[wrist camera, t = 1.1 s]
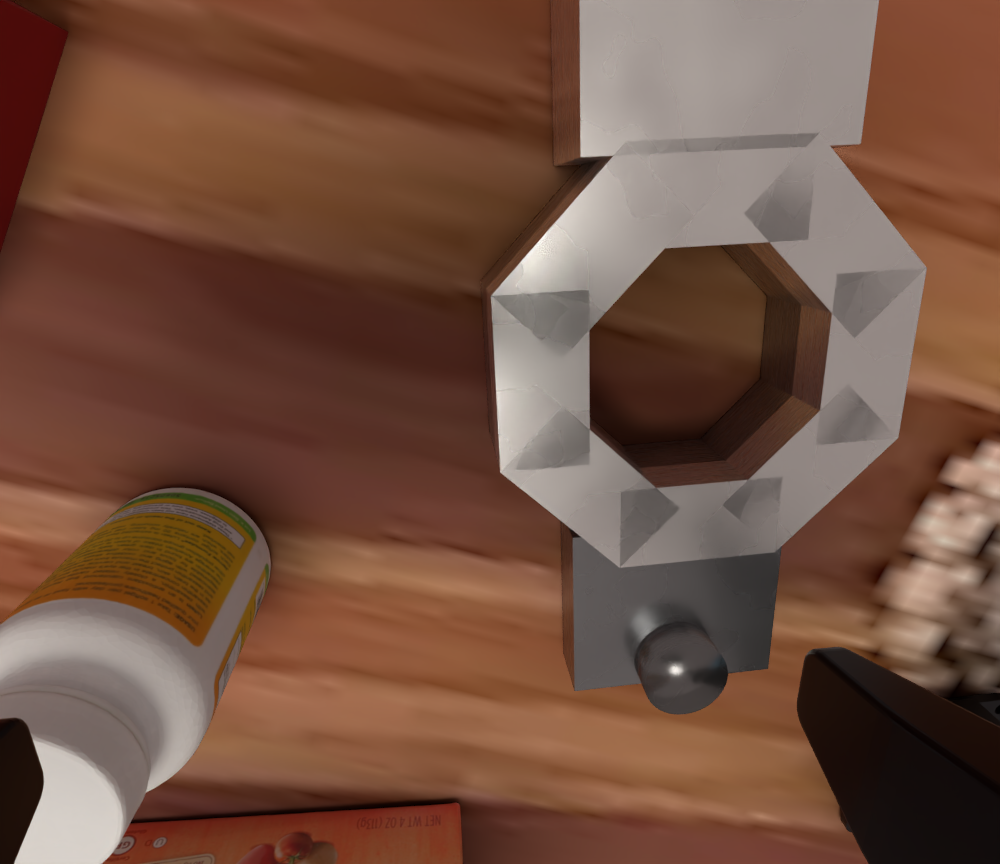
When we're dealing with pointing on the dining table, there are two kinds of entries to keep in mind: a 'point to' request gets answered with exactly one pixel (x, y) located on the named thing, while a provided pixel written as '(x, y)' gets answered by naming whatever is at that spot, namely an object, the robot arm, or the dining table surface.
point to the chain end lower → (679, 585)
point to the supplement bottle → (128, 661)
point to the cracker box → (301, 838)
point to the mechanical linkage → (22, 93)
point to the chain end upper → (705, 222)
